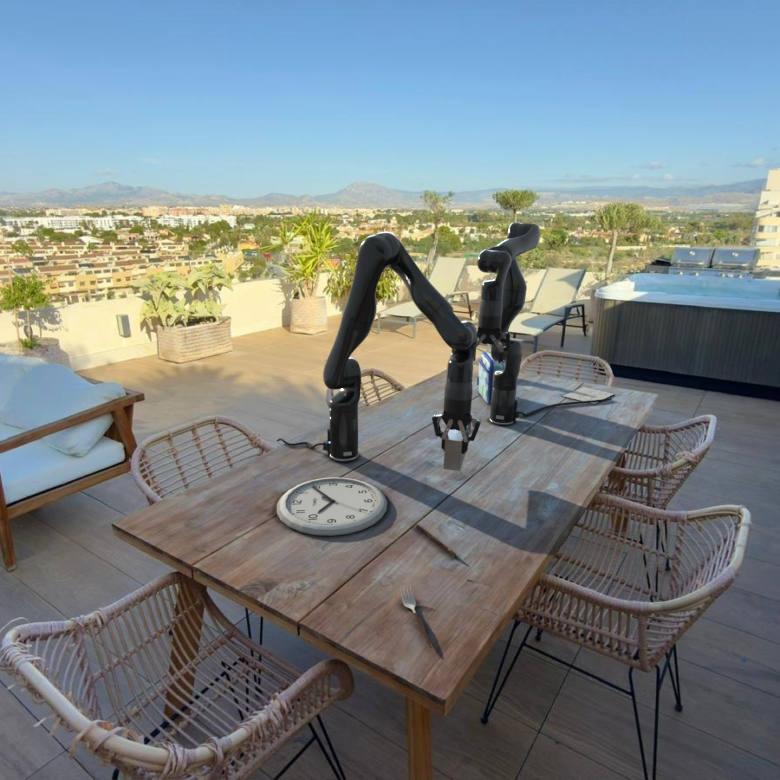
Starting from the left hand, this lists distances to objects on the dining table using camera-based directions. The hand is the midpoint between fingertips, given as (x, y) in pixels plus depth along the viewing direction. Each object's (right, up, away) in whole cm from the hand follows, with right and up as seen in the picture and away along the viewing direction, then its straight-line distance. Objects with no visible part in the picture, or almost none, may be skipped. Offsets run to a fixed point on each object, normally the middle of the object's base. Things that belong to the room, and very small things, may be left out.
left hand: (454, 451), depth 149 cm
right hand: (+14, +27, +27) cm, 41 cm away
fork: (-13, -27, -47) cm, 56 cm away
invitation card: (+73, +15, +93) cm, 119 cm away
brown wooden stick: (-7, -20, -22) cm, 30 cm away
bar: (+2, -2, +9) cm, 9 cm away
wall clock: (-34, -14, -6) cm, 37 cm away
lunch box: (+27, +13, +85) cm, 90 cm away
